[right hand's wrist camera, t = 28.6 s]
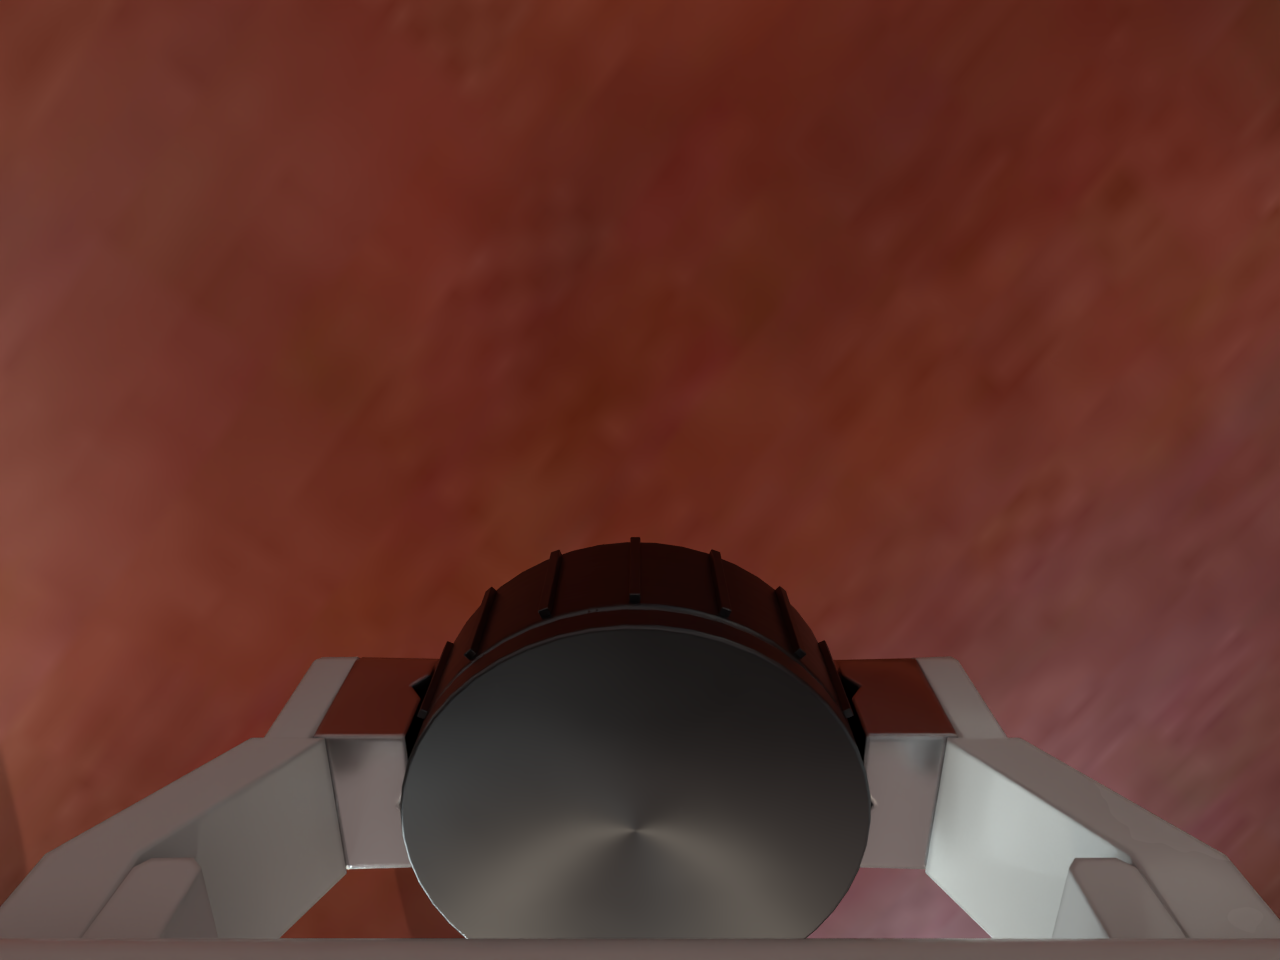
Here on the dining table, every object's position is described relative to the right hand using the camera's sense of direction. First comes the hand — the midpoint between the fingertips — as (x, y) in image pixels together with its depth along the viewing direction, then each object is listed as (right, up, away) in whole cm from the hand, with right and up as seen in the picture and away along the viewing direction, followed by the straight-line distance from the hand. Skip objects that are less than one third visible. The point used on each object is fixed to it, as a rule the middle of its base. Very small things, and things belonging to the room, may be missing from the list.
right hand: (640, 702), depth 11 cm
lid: (0, -1, -2) cm, 2 cm away
